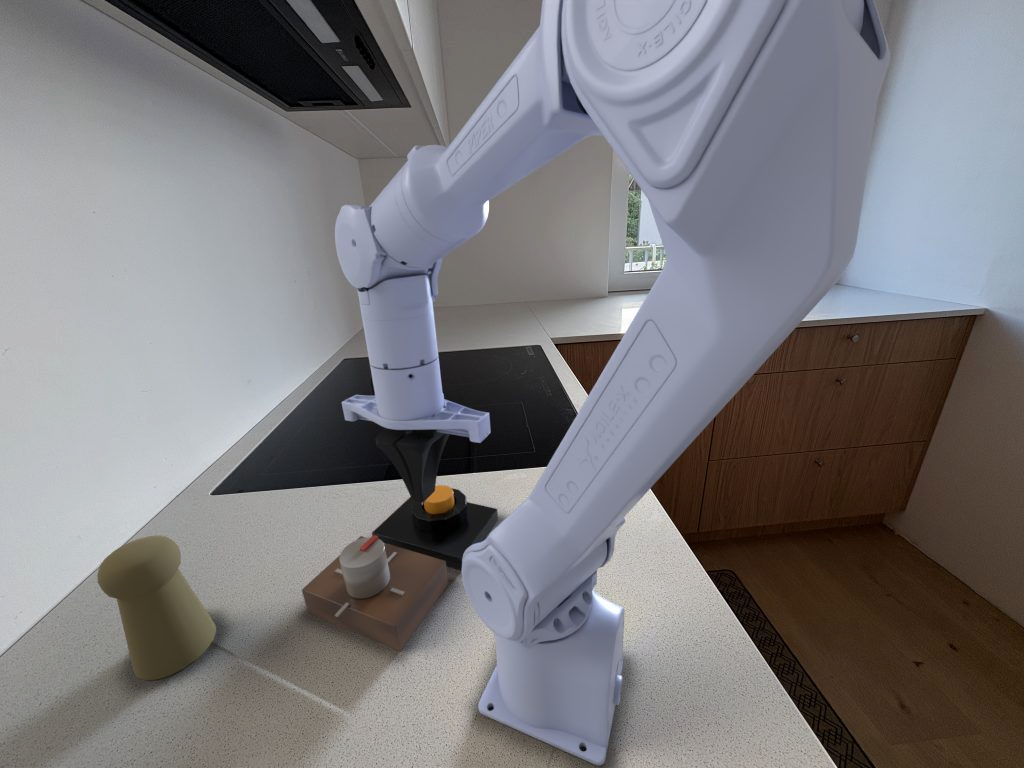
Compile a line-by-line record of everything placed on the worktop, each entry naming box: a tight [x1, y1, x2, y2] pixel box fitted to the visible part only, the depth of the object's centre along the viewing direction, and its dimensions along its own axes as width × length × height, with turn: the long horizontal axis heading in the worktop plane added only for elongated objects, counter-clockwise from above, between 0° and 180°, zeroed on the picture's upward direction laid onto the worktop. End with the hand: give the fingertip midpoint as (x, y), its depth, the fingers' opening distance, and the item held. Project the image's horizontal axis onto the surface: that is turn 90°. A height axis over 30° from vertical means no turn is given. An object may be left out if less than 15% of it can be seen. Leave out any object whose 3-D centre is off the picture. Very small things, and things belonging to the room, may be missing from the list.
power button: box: [424, 484, 455, 514], centre depth 51 cm, size 4×4×2 cm
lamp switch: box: [371, 487, 499, 571], centre depth 50 cm, size 12×9×4 cm
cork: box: [96, 534, 217, 681], centre depth 36 cm, size 6×6×11 cm
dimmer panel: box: [301, 535, 449, 652], centre depth 41 cm, size 11×9×3 cm
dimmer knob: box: [339, 535, 390, 599], centre depth 39 cm, size 4×4×4 cm
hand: (423, 494), depth 40 cm, fingers closed
